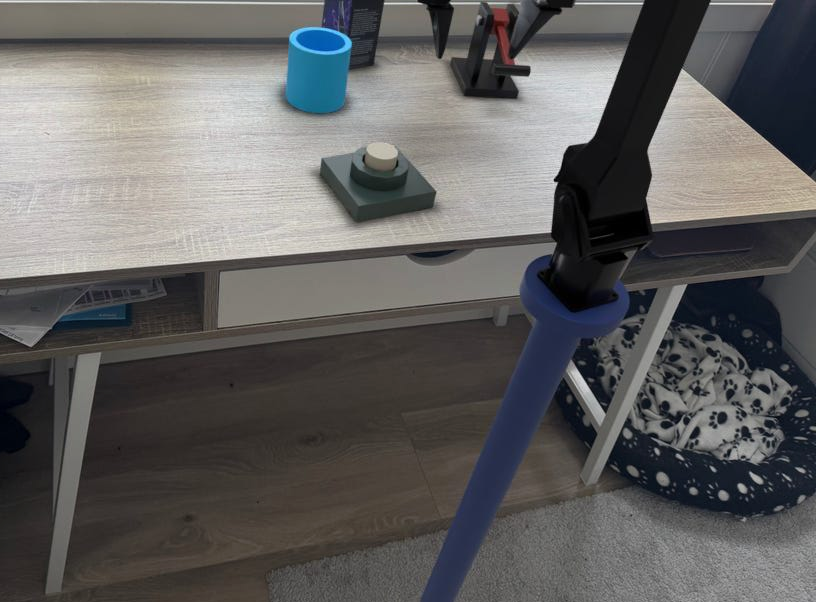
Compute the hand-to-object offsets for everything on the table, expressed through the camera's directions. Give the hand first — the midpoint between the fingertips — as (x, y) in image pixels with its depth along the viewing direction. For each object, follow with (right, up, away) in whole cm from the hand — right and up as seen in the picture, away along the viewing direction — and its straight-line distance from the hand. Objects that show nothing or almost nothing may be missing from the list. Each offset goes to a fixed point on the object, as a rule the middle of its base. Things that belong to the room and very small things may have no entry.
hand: (474, 57), depth 88 cm
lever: (+6, +6, +15) cm, 17 cm away
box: (-15, +8, +24) cm, 29 cm away
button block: (-12, -16, -2) cm, 20 cm away
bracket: (+5, +4, +22) cm, 23 cm away
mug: (-20, 0, +14) cm, 25 cm away
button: (-12, -14, -4) cm, 18 cm away
